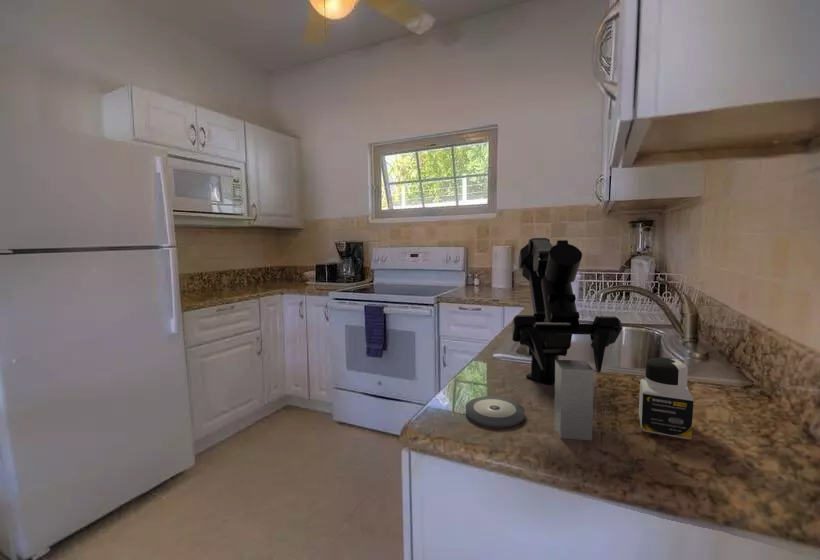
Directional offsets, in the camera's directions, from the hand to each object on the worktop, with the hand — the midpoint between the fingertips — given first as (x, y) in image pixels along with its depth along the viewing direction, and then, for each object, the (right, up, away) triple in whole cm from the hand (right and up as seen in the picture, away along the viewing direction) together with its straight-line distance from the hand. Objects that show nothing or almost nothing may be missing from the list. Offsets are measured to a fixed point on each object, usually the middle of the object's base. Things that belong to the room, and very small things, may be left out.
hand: (571, 370), depth 67 cm
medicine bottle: (+17, -10, +1) cm, 19 cm away
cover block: (0, -10, -1) cm, 10 cm away
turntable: (-12, -10, +7) cm, 17 cm away
